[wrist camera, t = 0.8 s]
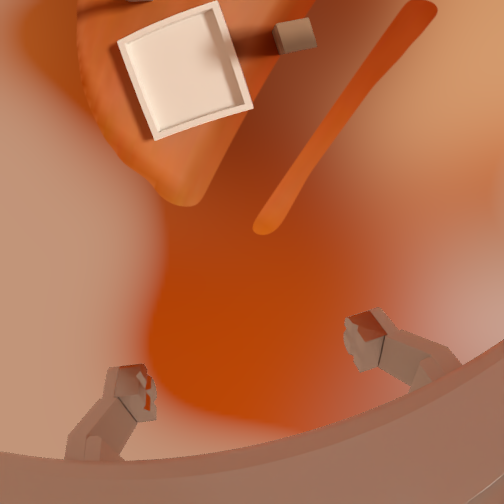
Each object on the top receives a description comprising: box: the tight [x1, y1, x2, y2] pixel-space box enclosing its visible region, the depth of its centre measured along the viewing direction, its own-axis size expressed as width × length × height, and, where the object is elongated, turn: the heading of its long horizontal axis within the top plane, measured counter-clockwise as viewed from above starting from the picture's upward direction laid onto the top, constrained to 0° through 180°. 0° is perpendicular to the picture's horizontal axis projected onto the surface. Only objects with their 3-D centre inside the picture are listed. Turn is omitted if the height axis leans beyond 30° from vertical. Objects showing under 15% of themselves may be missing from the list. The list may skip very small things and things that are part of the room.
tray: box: [117, 1, 254, 141], centre depth 39 cm, size 18×16×2 cm
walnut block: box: [272, 18, 317, 55], centre depth 34 cm, size 4×4×10 cm
